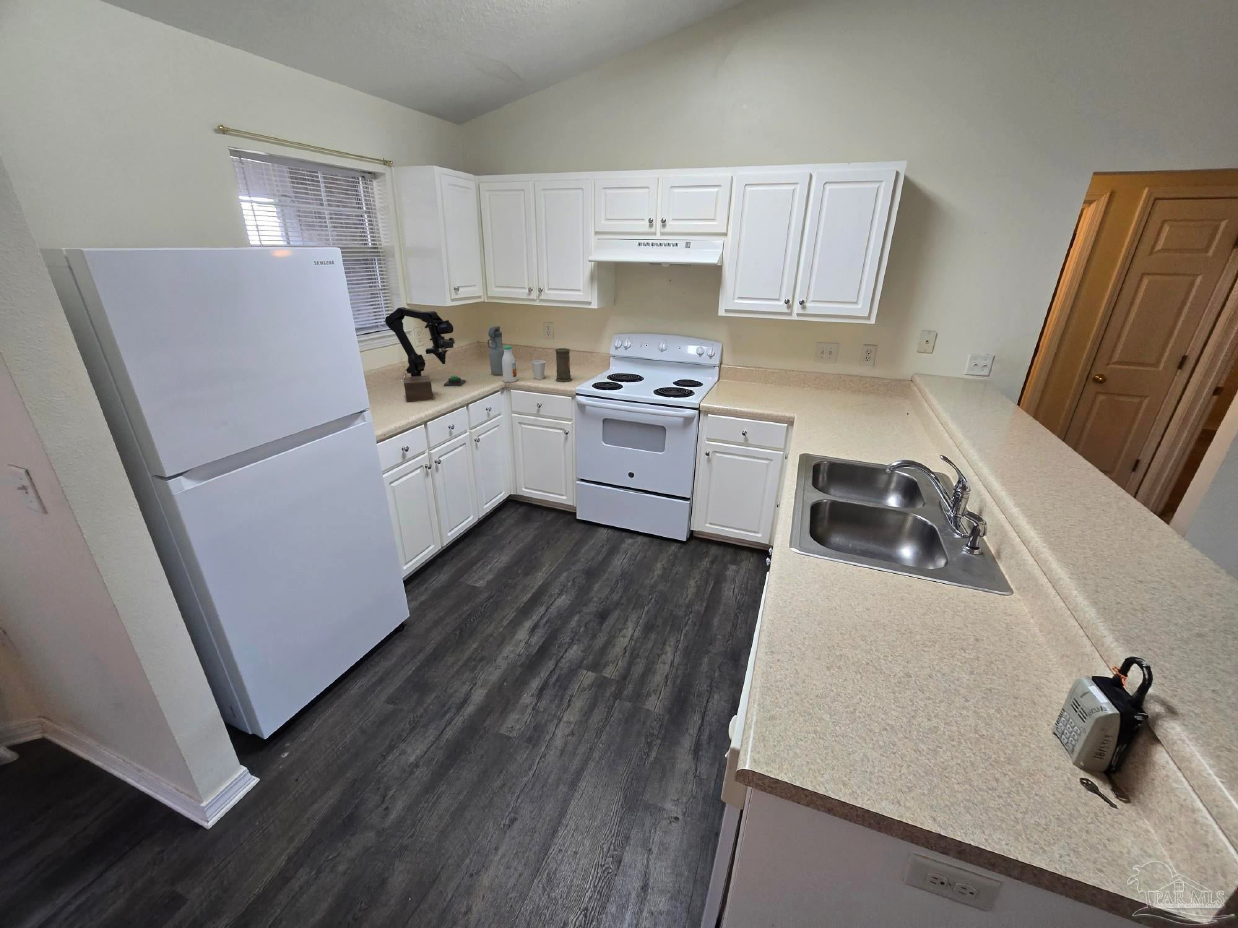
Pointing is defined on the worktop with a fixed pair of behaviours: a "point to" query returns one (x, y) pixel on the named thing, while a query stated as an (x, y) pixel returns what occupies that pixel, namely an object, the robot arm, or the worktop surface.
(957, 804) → the worktop surface
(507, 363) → the milk bottle
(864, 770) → the worktop surface
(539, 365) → the dixie cup
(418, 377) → the brown block
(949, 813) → the worktop surface
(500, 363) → the water bottle
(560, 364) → the container
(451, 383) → the control block
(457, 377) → the button
